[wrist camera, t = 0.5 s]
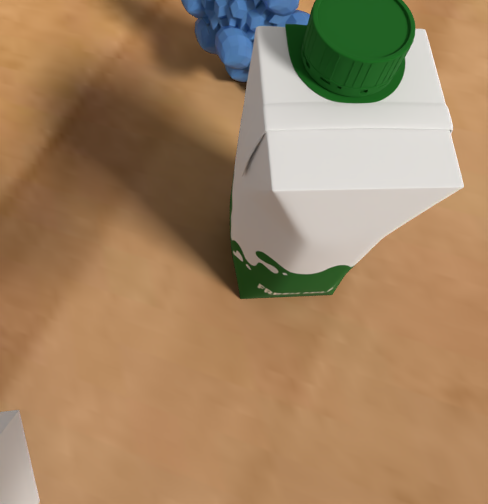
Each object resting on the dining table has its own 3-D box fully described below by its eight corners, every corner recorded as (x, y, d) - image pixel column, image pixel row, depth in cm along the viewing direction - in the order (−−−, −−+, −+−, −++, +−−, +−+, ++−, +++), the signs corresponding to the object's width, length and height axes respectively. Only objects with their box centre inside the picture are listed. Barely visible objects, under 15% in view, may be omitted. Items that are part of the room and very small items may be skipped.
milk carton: (329, 198, 37) (461, -25, 18) (345, 308, 34) (522, 176, 15) (221, 201, 36) (243, -32, 17) (227, 314, 33) (262, 180, 14)
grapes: (159, 85, 39) (142, -47, 28) (196, 32, 42) (195, -110, 30) (281, 142, 38) (315, 29, 27) (312, 85, 41) (355, -41, 30)
